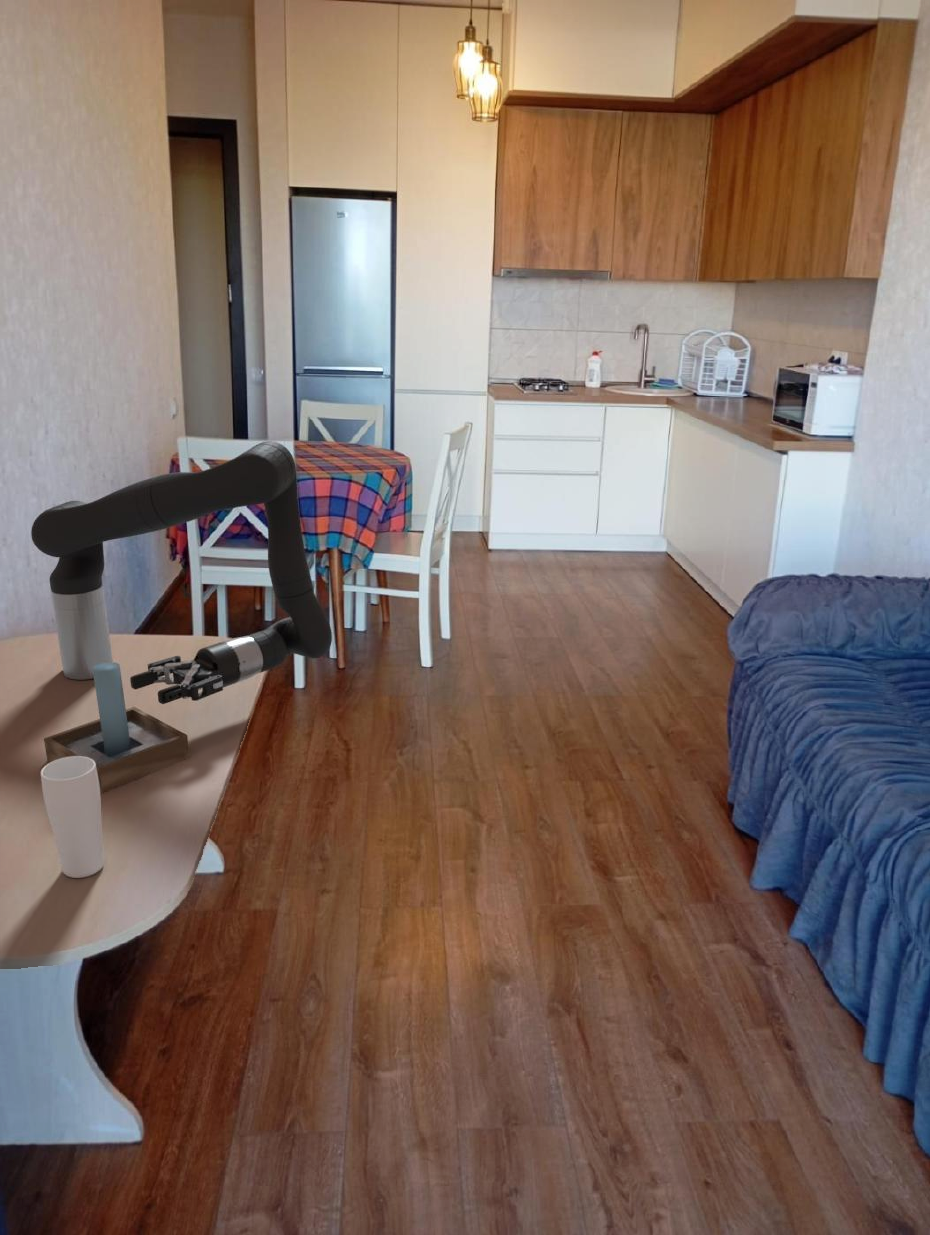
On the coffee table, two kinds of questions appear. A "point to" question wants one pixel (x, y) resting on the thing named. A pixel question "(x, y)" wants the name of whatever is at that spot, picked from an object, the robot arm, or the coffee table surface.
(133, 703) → the coffee table surface
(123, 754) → the grey metal bore plate
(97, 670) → the blue-grey painted peg
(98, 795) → the drinking glass
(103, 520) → the robot arm
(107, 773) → the walnut crate
